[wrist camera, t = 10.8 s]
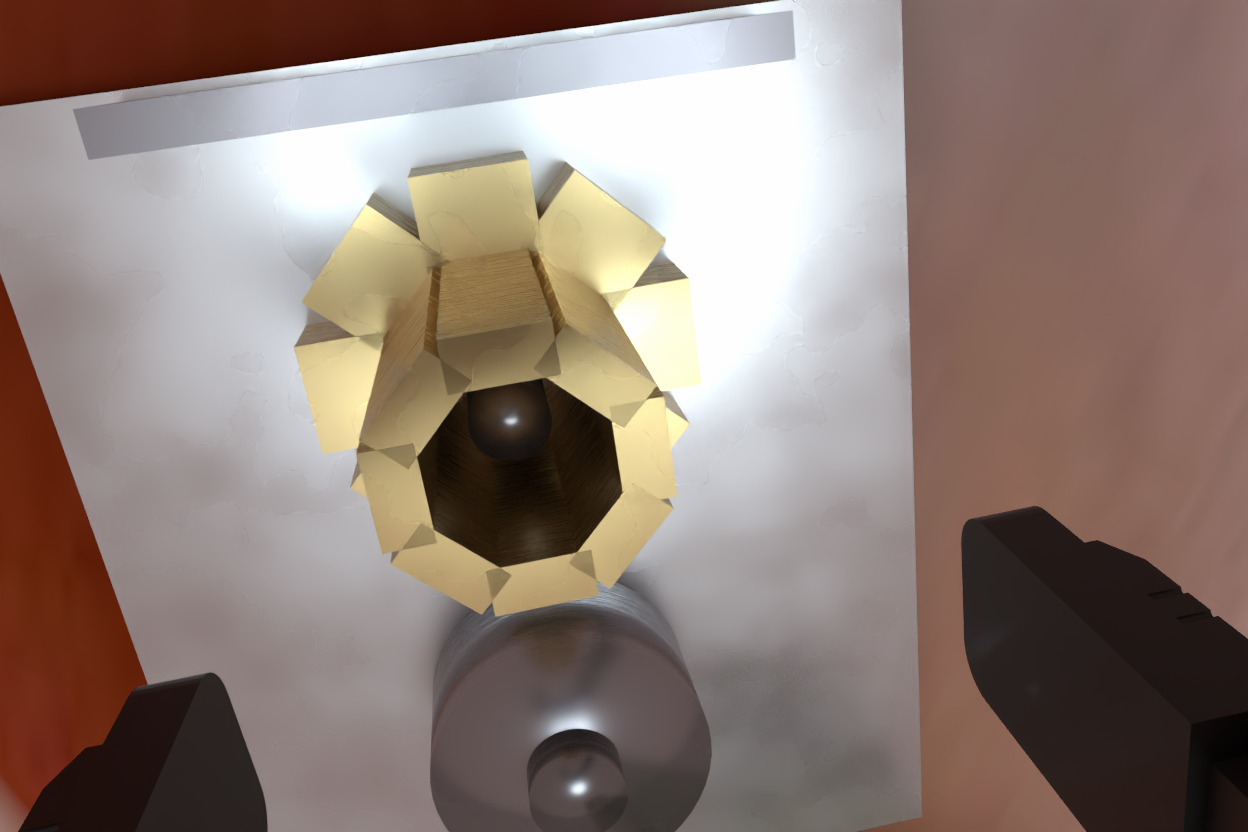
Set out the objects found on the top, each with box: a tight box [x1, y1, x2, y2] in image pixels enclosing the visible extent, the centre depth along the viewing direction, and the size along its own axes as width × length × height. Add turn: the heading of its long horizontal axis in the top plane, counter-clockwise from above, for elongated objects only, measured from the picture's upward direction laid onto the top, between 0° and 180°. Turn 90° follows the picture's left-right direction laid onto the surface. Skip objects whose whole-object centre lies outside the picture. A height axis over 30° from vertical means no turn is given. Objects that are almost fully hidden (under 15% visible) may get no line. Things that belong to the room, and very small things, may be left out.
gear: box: [294, 151, 702, 617], centre depth 18 cm, size 8×8×7 cm
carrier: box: [0, 0, 922, 832], centre depth 21 cm, size 18×21×6 cm
